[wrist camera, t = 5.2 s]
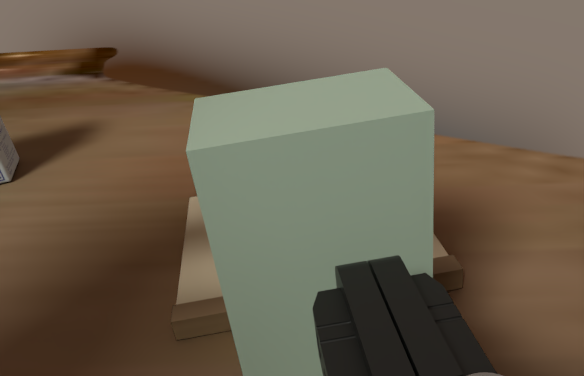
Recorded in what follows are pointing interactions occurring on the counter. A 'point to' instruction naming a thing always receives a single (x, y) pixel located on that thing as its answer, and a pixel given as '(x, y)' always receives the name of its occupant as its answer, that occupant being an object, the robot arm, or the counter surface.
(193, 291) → the beech board
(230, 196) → the sage block
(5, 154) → the medicine box
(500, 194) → the counter surface
